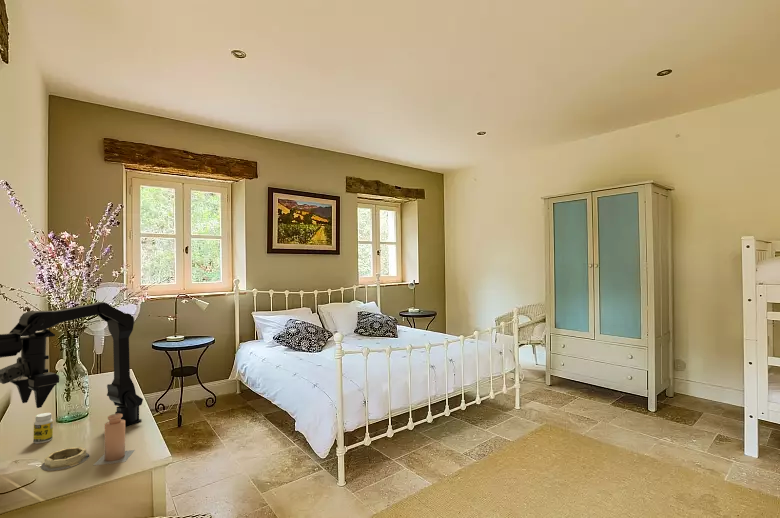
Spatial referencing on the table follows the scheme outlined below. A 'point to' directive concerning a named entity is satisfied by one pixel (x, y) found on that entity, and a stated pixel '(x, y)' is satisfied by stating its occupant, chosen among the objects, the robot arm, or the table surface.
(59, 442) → the table surface
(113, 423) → the vase
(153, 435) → the table surface
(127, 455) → the tile
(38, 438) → the supplement bottle
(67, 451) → the holder
